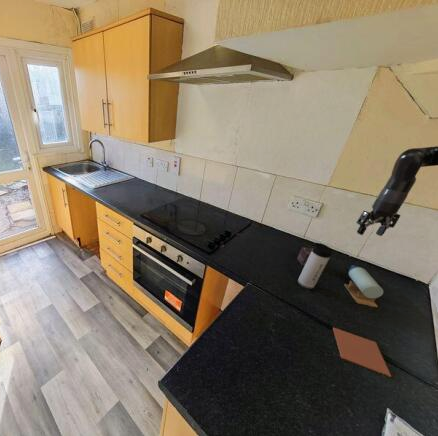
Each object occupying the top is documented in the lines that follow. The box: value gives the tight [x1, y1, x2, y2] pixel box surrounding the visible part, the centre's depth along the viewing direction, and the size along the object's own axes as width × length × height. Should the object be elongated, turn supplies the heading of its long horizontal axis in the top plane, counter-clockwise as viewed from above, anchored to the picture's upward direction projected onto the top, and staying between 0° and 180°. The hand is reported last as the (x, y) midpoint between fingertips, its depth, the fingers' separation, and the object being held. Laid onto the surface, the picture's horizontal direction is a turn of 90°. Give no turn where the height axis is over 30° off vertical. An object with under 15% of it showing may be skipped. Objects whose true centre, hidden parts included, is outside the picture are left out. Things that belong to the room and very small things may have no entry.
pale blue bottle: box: [348, 264, 384, 299], centre depth 96 cm, size 16×6×6 cm, turn 164°
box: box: [296, 246, 313, 267], centre depth 112 cm, size 6×6×7 cm
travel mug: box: [297, 242, 333, 290], centre depth 96 cm, size 6×7×20 cm
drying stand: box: [343, 280, 379, 308], centre depth 95 cm, size 11×7×4 cm, turn 164°
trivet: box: [332, 326, 392, 378], centre depth 73 cm, size 12×12×1 cm
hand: (369, 234), depth 97 cm, fingers open, 8 cm apart
